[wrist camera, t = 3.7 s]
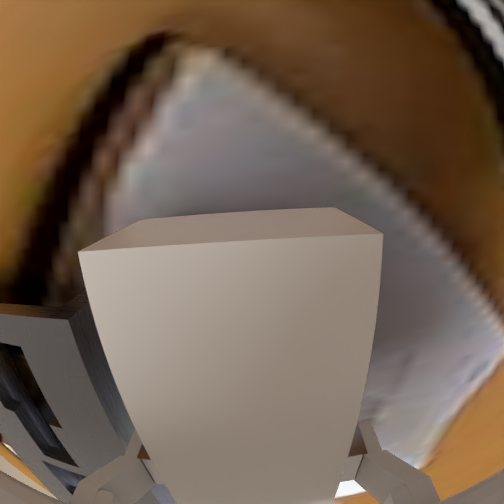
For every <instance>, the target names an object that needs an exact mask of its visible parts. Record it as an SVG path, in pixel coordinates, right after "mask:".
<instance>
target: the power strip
mask: <svg viewBox="0 0 504 504" xmlns="http://www.w3.org/2000/svg"><path fill="white" fill-rule="evenodd" d="M382 250H383V233H381V232H380V231H378V230H376V229H374V228H372V227H371V226H369V225H367V224H365V223H363V222H361V221H360V220H358V219H356V218H354V217H352V216H350V215H348V214H346V213H345V212H343V211H341V210H339V209H337V208H335V207H326V208H301V209H280V210H261V211H244V212H229V213H215V214H202V215H189V216H177V217H166V218H155V219H144V220H140V221H137V222H135V223H133V224H131V225H129V226H127V227H125V228H123V229H121V230H119V231H117V232H115V233H113V234H111V235H109V236H107V237H105V238H103V239H101V240H99V241H97V242H96V243H94V244H92V245H90V246H88V247H86V248H84V249H82V250H80V251H78V255H79V260H80V265H81V270H82V274H83V278H84V283H85V287H86V291H87V295H88V299H89V303H90V307H91V310H92V314H93V317H94V321H95V324H96V328H97V331H98V334H99V337H100V340H101V344H102V347H103V350H104V353H105V355H106V358H107V361H108V364H109V367H110V370H111V372H112V375H113V378H114V380H115V383H116V385H117V388H118V390H119V393H120V395H121V398H122V400H123V402H124V405H125V407H126V409H127V412H128V414H129V416H130V418H131V421H132V423H133V425H134V427H135V429H136V431H137V433H138V435H139V437H140V439H141V441H142V443H143V445H144V447H145V449H146V451H147V453H148V455H149V457H150V459H151V461H152V463H153V464H154V466H155V468H156V470H157V472H158V473H159V475H160V477H161V478H162V480H163V482H164V484H165V485H166V487H167V489H168V490H169V492H170V493H171V495H172V497H173V498H174V500H175V501H176V503H177V504H332V503H333V500H334V497H335V495H336V492H337V489H338V486H339V483H340V480H341V477H342V474H343V471H344V468H345V464H346V461H347V458H348V454H349V451H350V447H351V444H352V440H353V437H354V433H355V429H356V425H357V421H358V417H359V413H360V408H361V404H362V399H363V395H364V390H365V385H366V380H367V375H368V370H369V364H370V358H371V352H372V346H373V339H374V333H375V325H376V318H377V309H378V300H379V290H380V279H381V266H382Z"/></svg>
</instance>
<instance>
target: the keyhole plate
mask: <svg viewBox="0 0 504 504" xmlns="http://www.w3.org/2000/svg"><path fill="white" fill-rule="evenodd" d="M5 343H6V344H11V345H15V346H20V347H21V348H22V351H23V353H24V355H25V358H26V360H27V362H28V365H29V367H30V369H31V371H32V373H33V375H34V377H35V379H36V381H37V383H38V385H39V387H40V389H41V391H42V393H43V395H44V397H45V399H46V401H47V402H48V404H49V406H50V408H51V410H52V411H53V413H54V415H55V417H54V418H53V420H52V421H51V423H50V424H49V425H50V427H51V428H52V430H53V431H54V433H55V434H56V436H57V437H58V439H59V440H60V442H61V443H62V445H63V446H64V448H65V449H66V450H67V451H65V450H64V449H63V447H62V446H61V445H60V443H59V442H58V440H57V439H56V437H55V436H54V434H53V433H52V431H51V430H50V428H49V427H48V425H47V423H46V422H45V420H44V419H43V417H42V415H41V414H40V412H39V410H38V409H37V407H36V405H35V403H34V402H33V400H32V398H31V396H30V394H29V392H28V391H27V389H26V387H25V385H24V383H23V381H22V379H21V377H20V375H19V373H18V371H17V369H16V366H15V364H14V362H13V360H12V358H11V355H10V353H9V351H8V349H7V346H6V344H5ZM134 430H135V427H134V425H133V423H132V421H131V418H130V416H129V414H128V412H127V409H126V407H125V405H124V402H123V400H122V398H121V395H120V393H119V390H118V388H117V385H116V383H115V380H114V378H113V375H112V372H111V370H110V367H109V364H108V361H107V358H106V355H105V353H104V350H103V347H102V344H101V340H100V337H99V334H98V331H97V328H96V324H95V321H94V317H93V314H92V310H91V307H90V303H89V299H88V295H87V291H86V288H85V289H84V290H83V291H81V292H80V293H79V294H78V295H76V296H75V297H74V298H73V299H71V300H70V301H69V302H68V303H66V304H65V305H64V306H63V307H51V306H33V305H17V304H4V303H0V432H1V434H2V435H3V436H4V438H5V439H6V441H7V442H8V443H9V445H10V446H11V447H12V448H13V450H14V451H15V452H16V454H17V455H18V456H19V457H20V458H21V460H22V461H23V462H24V463H25V464H26V466H27V467H28V468H29V469H30V470H31V471H32V473H33V474H34V475H35V476H36V477H37V478H38V479H39V480H40V481H41V482H42V483H43V485H44V486H45V487H46V488H47V489H48V490H49V491H50V492H51V493H52V494H53V495H54V496H55V497H56V498H57V499H58V500H59V501H62V502H64V503H66V504H69V502H70V500H71V498H72V496H73V493H74V491H75V489H76V487H77V485H78V483H79V481H81V480H82V479H84V478H86V477H87V476H89V475H91V474H92V473H94V472H95V471H97V470H99V469H100V468H102V467H103V466H105V465H106V464H108V463H110V462H111V461H113V460H114V459H116V458H117V457H119V456H120V455H121V456H124V454H125V452H126V449H127V447H128V444H129V442H130V440H131V437H132V435H133V432H134ZM85 476H86V477H85ZM134 504H177V503H176V501H175V500H174V498H173V497H172V495H171V493H170V492H169V490H168V489H167V487H166V485H165V484H157V483H155V485H154V486H153V487H152V488H151V489H150V490H149V491H148V492H146V493H145V494H144V495H143V496H142V497H141V498H140V499H139V500H138V501H137V502H135V503H134Z"/></svg>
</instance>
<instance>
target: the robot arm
mask: <svg viewBox="0 0 504 504" xmlns="http://www.w3.org/2000/svg"><path fill="white" fill-rule="evenodd" d="M349 480H355V481H356V482H357V483H358V484H359V485H360V486H361V487H363V488H364V489H365V490H366V491H367V492H368V493H369V494H371V495H372V496H373V497H374V498H375V499H376V500H377V501H379V502H380V503H381V504H504V468H503V469H502V470H500V471H498V472H497V473H495V474H493V475H492V476H490V477H488V478H486V479H485V480H483V481H481V482H479V483H477V484H475V485H473V486H471V487H469V488H467V489H465V490H463V491H461V492H459V493H457V494H455V495H453V496H451V497H448V498H446V499H444V500H442V501H440V499H439V496H438V494H437V492H436V490H435V487H434V485H433V483H432V481H431V478H430V476H428V475H426V474H425V473H423V472H421V471H419V470H418V469H416V468H414V467H413V466H411V465H409V464H408V463H406V462H405V461H403V460H401V459H400V458H398V457H396V456H395V455H393V454H392V453H390V452H389V451H387V450H383V451H382V449H381V446H380V443H379V441H378V438H377V436H376V433H375V431H374V428H373V426H372V423H371V421H370V420H366V421H361V422H357V425H356V429H355V433H354V437H353V440H352V444H351V447H350V451H349V454H348V458H347V461H346V464H345V468H344V471H343V474H342V477H341V480H340V482H342V481H349ZM155 483H157V484H164V482H163V480H162V478H161V477H160V475H159V473H158V472H157V470H156V468H155V466H154V464H153V463H152V461H151V459H150V457H149V455H148V453H147V451H146V449H145V447H144V445H143V443H142V441H141V439H140V437H139V435H138V433H137V431H136V429H135V430H134V432H133V435H132V437H131V440H130V442H129V444H128V447H127V449H126V452H125V454H124V456H121V455H120V456H119V457H117V458H116V459H114V460H113V461H111V462H110V463H108V464H106V465H105V466H103V467H102V468H100V469H99V470H97V471H95V472H94V473H92V474H91V475H89V476H87V477H86V478H84V479H82V480H81V481H79V483H78V485H77V487H76V489H75V491H74V493H73V496H72V498H71V500H70V502H69V504H134V503H135V502H137V501H138V500H139V499H140V498H141V497H142V496H143V495H144V494H145V493H146V492H148V491H149V490H150V489H151V488H152V487H153V486H154V485H155ZM0 504H66V503H64V502H62V501H59V500H57V499H54V498H52V497H50V496H48V495H46V494H44V493H41V492H39V491H37V490H35V489H33V488H31V487H29V486H27V485H25V484H23V483H22V482H20V481H18V480H16V479H14V478H13V477H11V476H9V475H7V474H6V473H4V472H2V471H1V470H0Z"/></svg>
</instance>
